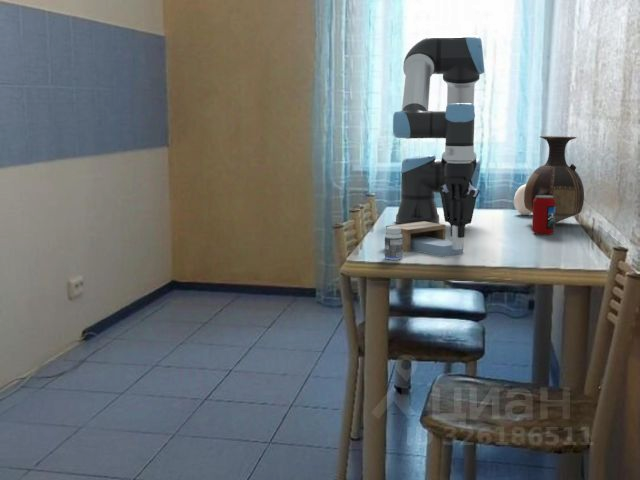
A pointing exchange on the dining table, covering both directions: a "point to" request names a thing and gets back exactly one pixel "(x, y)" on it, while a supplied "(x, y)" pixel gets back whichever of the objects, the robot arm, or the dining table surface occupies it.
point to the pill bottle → (393, 243)
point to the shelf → (420, 231)
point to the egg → (521, 201)
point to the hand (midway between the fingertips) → (457, 248)
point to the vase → (556, 181)
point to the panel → (433, 246)
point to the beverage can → (543, 215)
